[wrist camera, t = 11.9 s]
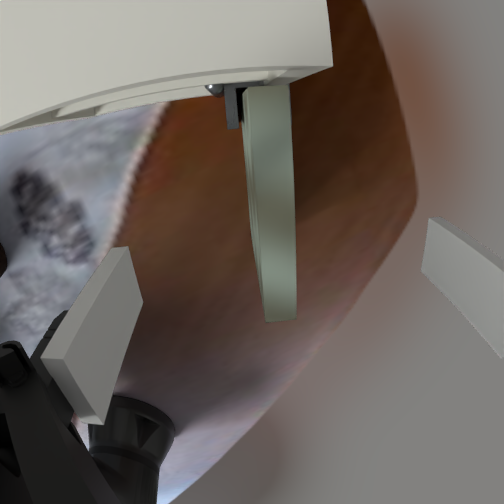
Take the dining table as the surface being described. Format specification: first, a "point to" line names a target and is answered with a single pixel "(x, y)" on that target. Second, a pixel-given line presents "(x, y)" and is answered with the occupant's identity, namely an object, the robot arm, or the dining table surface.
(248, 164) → the cabinet door
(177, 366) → the dining table surface
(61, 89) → the cabinet
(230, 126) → the hinge clip
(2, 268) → the coffee mug
